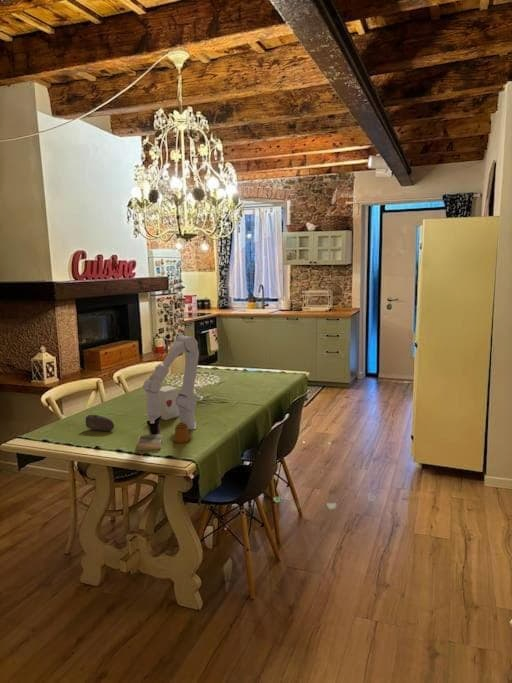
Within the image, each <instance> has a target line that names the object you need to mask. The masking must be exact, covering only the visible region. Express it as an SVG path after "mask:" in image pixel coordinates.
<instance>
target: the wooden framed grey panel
mask: <svg viewBox="0 0 512 683" xmlns="http://www.w3.org/2000/svg"><path fill="white" fill-rule="evenodd" d="M163 441H164V435H163V433H161V434H154V435H150V434H141V435H139V437H138V439H137V441H136V444H135V445H136V451H151V450H161V449H162V446H163Z"/></svg>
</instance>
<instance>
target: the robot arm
mask: <svg viewBox="0 0 512 683" xmlns="http://www.w3.org/2000/svg"><path fill="white" fill-rule="evenodd" d="M198 344H199V342H198V341H197V339H196V337H195V338H194V337H193V336H186V335H183V334H179V335H177V336H176V337H175V339H174V341H173V342H172V346H171V348H170V349H169V350H168V351H169V352H168V353H167V355H166V356H165V358H164V359H163V361H162V363H159V364H157V365H156V366H155V367H154V370H153V372H152V373H151V375H149V377H148V378H147V379H146V380H144V382H143V385H142V388H143V389H144V390H145V395H146V396H145V397H146V412H147V413H145V414H144V417H146V418H148V419H149V420H147V421H146V424H147V426H148V429H149V428H150V431H151V434H152V435H154V434H157V431H158V424H159V422H160V421H161V413H160V400H159V390H160V389H161V387H162V383H163V381H164V380H165V378H166V377H167V375H168V374H169V373H170V372H169V371H170V369H169V367H170V366H171V365H172V364H173V362H174V361H175V360H176V358H177V357H178V356H179V355H180V354H185V355H186V362H185V366H184V375H183V379H182V386H181V389H180V390H178V396H177V397H176V405H177V406H178V409H179V416H178V417H179V418H178V420H179V423H181V422H183V423H185V424H186V425H188V431H190V430H196V427H197V422H196V421H195V410H196V409H195V408H197V404H198V403H197V394H196V392H195V391H194V390H195V389H194V388H195V384H196V383H195V382H196V377H197V370H198V365H199V357H200V351H199V347H198ZM160 423H161V422H160Z"/></svg>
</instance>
